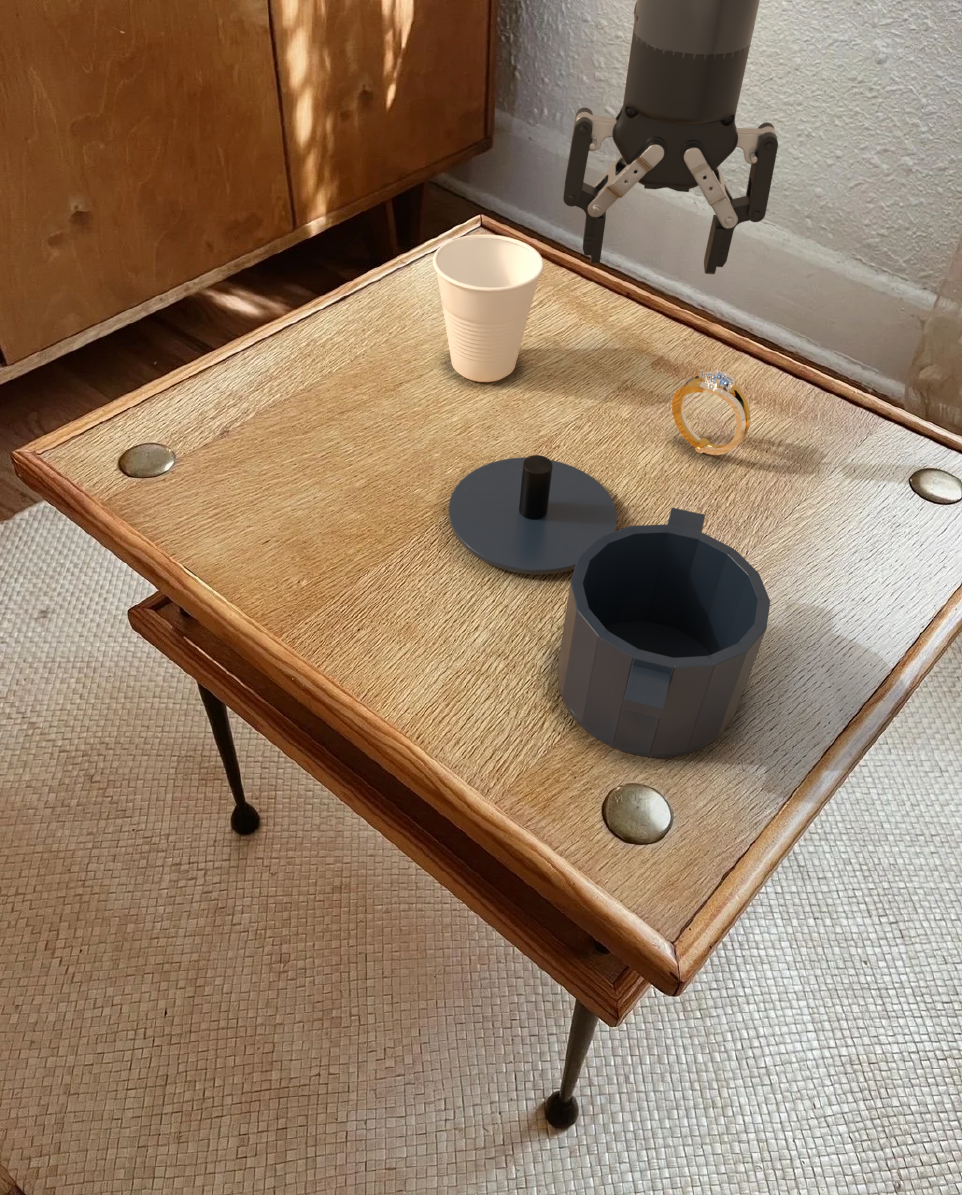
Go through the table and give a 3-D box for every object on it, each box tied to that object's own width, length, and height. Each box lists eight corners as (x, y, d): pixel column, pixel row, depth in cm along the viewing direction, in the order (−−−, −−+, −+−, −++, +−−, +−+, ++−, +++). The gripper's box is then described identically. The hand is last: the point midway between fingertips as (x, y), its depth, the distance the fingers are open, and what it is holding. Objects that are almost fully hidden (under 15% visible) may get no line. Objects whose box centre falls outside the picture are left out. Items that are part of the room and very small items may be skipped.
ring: (659, 439, 92) (675, 364, 86) (680, 425, 94) (697, 349, 88) (722, 476, 89) (743, 400, 83) (743, 461, 91) (765, 385, 85)
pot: (749, 615, 78) (781, 523, 71) (719, 812, 66) (754, 723, 59) (586, 577, 80) (602, 483, 73) (529, 761, 68) (541, 669, 61)
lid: (629, 487, 88) (640, 431, 83) (596, 597, 78) (606, 541, 74) (475, 453, 90) (478, 397, 86) (426, 557, 81) (426, 499, 76)
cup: (551, 385, 97) (562, 279, 89) (453, 404, 95) (456, 297, 87) (510, 330, 104) (517, 227, 96) (417, 347, 101) (417, 242, 93)
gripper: (579, 40, 63) (555, 281, 75) (813, 58, 62) (751, 298, 74) (582, 1, 68) (559, 232, 80) (799, 17, 68) (743, 248, 79)
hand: (652, 264), depth 77 cm, fingers open, 8 cm apart
